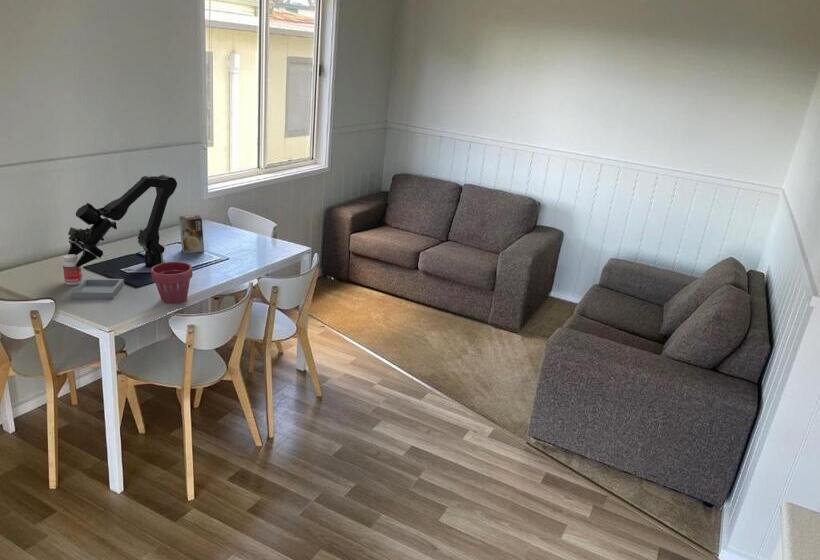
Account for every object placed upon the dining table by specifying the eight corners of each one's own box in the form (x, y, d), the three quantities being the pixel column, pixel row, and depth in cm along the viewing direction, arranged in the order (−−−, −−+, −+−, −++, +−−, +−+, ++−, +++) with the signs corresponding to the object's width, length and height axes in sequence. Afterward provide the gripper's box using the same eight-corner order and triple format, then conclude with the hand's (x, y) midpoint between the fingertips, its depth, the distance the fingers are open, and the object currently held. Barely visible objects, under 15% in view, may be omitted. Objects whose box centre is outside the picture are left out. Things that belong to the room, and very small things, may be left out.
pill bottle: (83, 284, 242) (80, 257, 238) (66, 286, 239) (62, 259, 235) (81, 279, 247) (78, 252, 243) (64, 281, 243) (60, 254, 239)
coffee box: (201, 247, 291) (200, 214, 286) (204, 252, 286) (202, 218, 280) (181, 249, 287) (179, 216, 282) (183, 253, 282) (181, 219, 276)
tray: (124, 284, 244) (123, 279, 243) (112, 299, 230) (112, 292, 229) (85, 284, 242) (84, 278, 241) (71, 298, 228) (70, 292, 227)
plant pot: (145, 302, 229) (142, 270, 225) (170, 289, 242) (168, 259, 237) (177, 309, 225) (175, 276, 221) (201, 296, 238) (199, 265, 233)
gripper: (70, 214, 243) (44, 246, 239) (91, 225, 232) (63, 258, 228) (93, 230, 252) (68, 261, 248) (114, 241, 241) (88, 274, 236)
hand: (71, 263), depth 240 cm, fingers open, 9 cm apart
